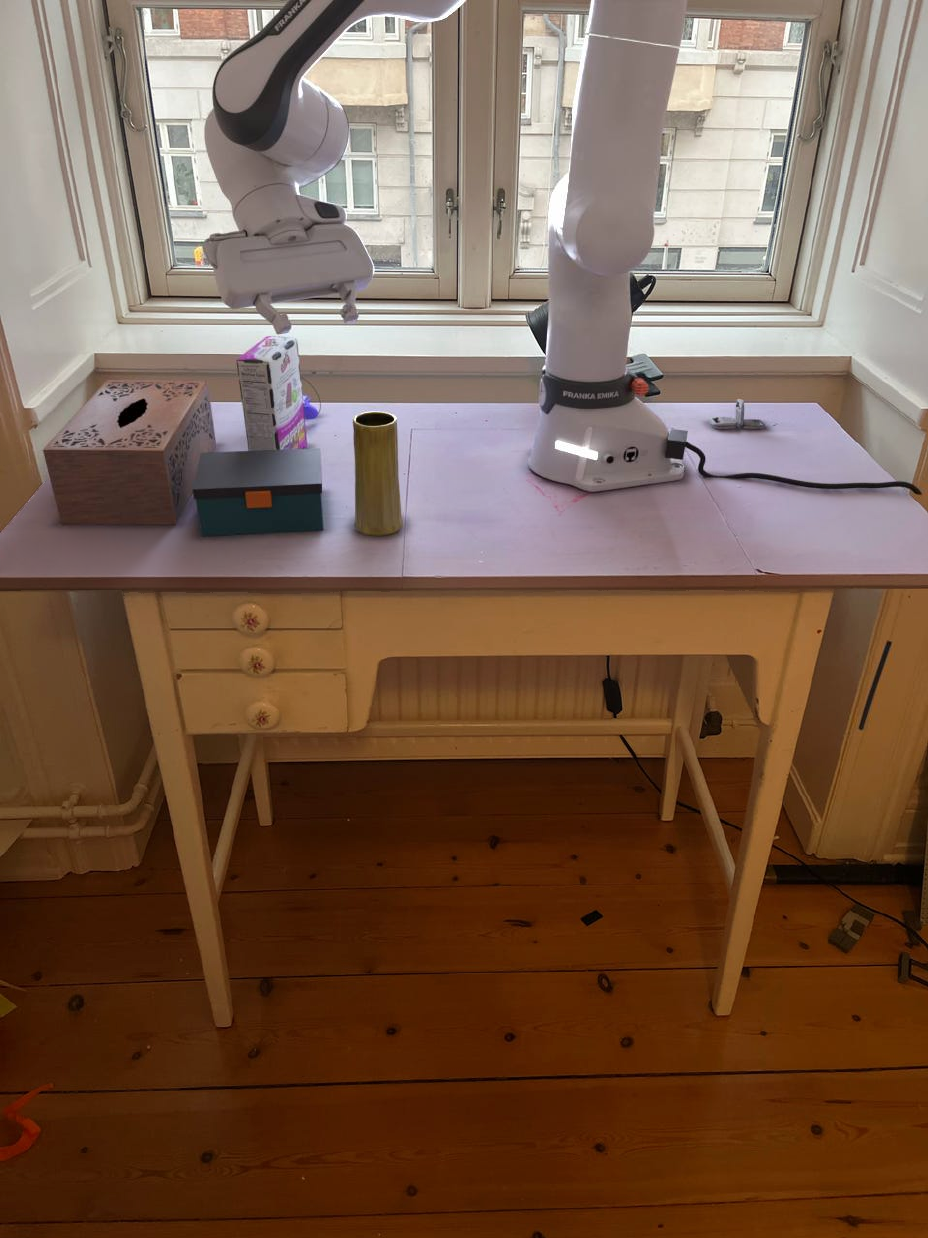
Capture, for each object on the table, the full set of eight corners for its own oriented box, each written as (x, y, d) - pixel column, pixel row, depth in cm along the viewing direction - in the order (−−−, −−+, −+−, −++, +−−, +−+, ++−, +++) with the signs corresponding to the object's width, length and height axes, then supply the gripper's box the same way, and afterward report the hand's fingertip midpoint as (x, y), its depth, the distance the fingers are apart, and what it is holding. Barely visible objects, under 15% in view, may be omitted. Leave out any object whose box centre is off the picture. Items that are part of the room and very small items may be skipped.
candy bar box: (277, 443, 141) (266, 334, 132) (308, 446, 140) (299, 336, 131) (248, 472, 131) (234, 357, 123) (281, 475, 131) (270, 360, 122)
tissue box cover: (119, 445, 139) (106, 380, 133) (216, 446, 139) (207, 380, 134) (61, 523, 117) (42, 449, 112) (176, 524, 118) (163, 450, 112)
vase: (412, 525, 118) (410, 418, 111) (377, 541, 115) (372, 432, 107) (380, 510, 122) (376, 406, 114) (344, 525, 118) (338, 418, 110)
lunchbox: (323, 491, 127) (320, 446, 123) (325, 532, 116) (321, 485, 113) (207, 496, 125) (201, 451, 121) (199, 539, 114) (191, 491, 111)
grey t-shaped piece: (713, 429, 149) (718, 403, 146) (708, 422, 151) (712, 397, 149) (765, 429, 149) (770, 403, 147) (759, 422, 152) (764, 396, 149)
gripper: (202, 218, 108) (247, 323, 106) (354, 204, 118) (397, 300, 117) (192, 252, 113) (235, 352, 112) (338, 236, 124) (379, 327, 122)
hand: (319, 325), depth 114 cm, fingers open, 8 cm apart
